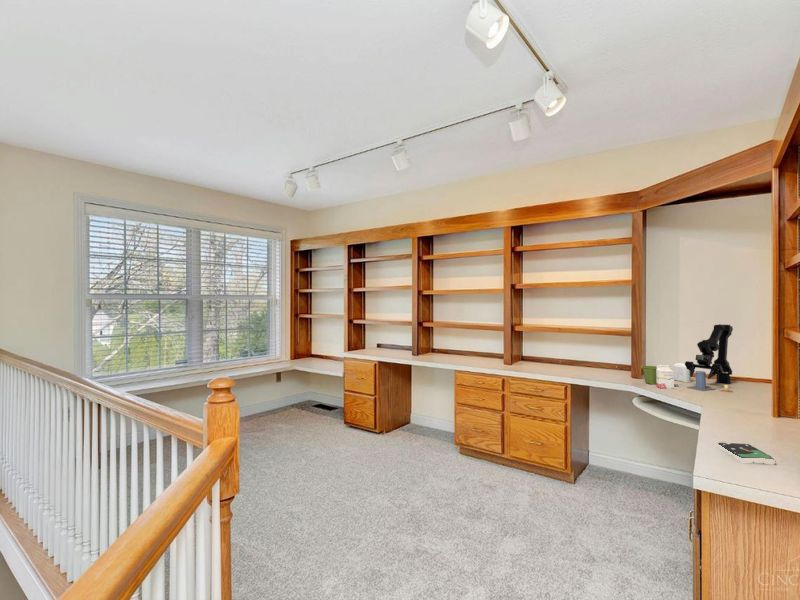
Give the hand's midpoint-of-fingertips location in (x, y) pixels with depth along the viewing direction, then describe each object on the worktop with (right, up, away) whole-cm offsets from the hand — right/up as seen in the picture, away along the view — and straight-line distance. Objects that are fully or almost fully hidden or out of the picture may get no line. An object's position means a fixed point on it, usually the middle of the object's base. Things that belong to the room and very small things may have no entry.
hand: (699, 377), depth 246 cm
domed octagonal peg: (+1, -7, +1) cm, 7 cm away
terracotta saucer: (+10, -8, -8) cm, 15 cm away
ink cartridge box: (-14, -9, +10) cm, 20 cm away
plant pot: (-14, -9, +25) cm, 30 cm away
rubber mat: (+1, -8, +1) cm, 8 cm away
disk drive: (-60, -9, -101) cm, 118 cm away
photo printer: (+10, -8, +29) cm, 31 cm away
